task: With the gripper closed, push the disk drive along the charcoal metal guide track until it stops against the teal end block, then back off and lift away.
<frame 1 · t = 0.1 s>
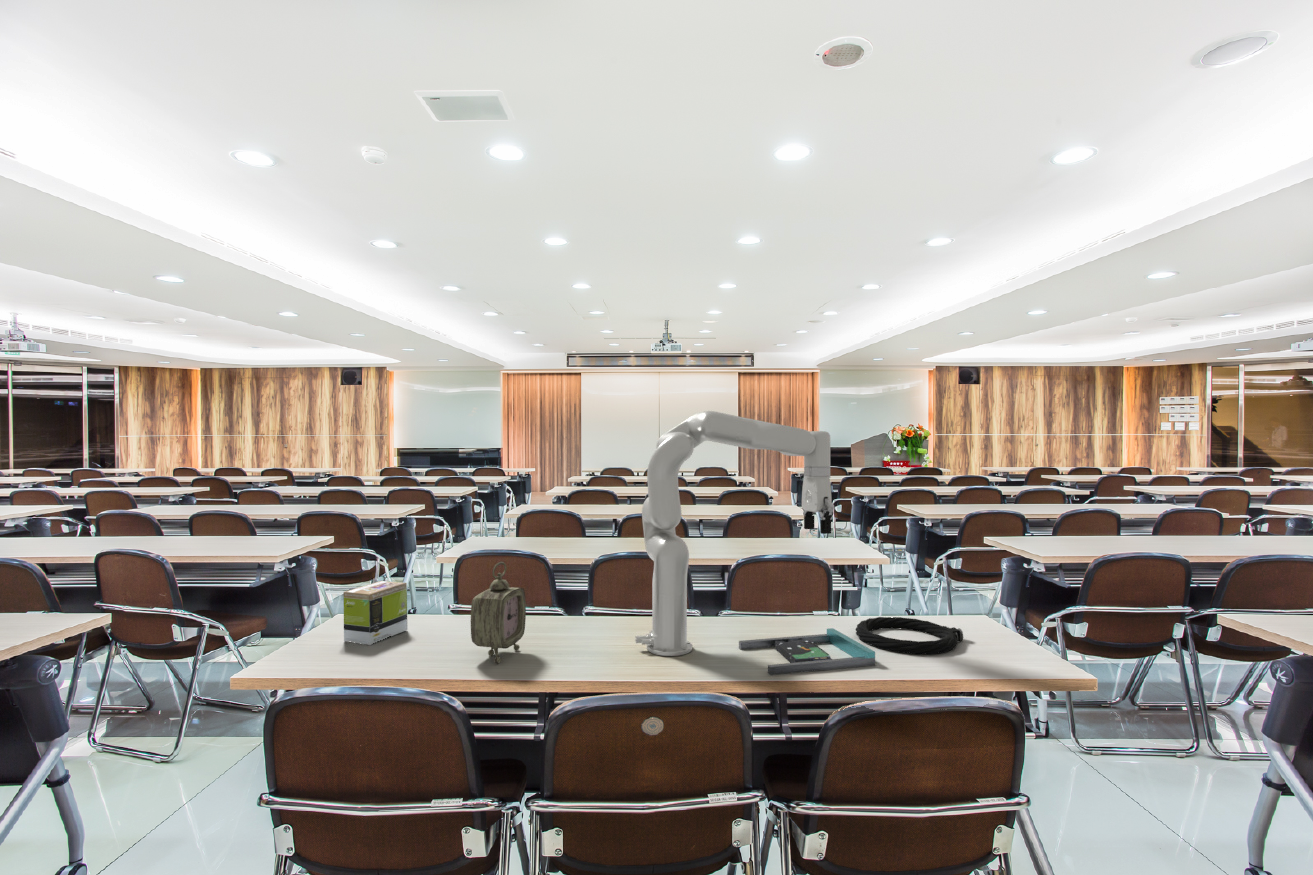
hand: (817, 531, 181), 31 cm above the table, tool pointing down, fingers open, 9 cm apart
cable lock: (909, 641, 179), on the table
tea box: (376, 637, 181), on the table
disk drive: (802, 659, 165), on the table
guide track: (804, 656, 165), on the table
tabletop clock: (497, 657, 164), on the table
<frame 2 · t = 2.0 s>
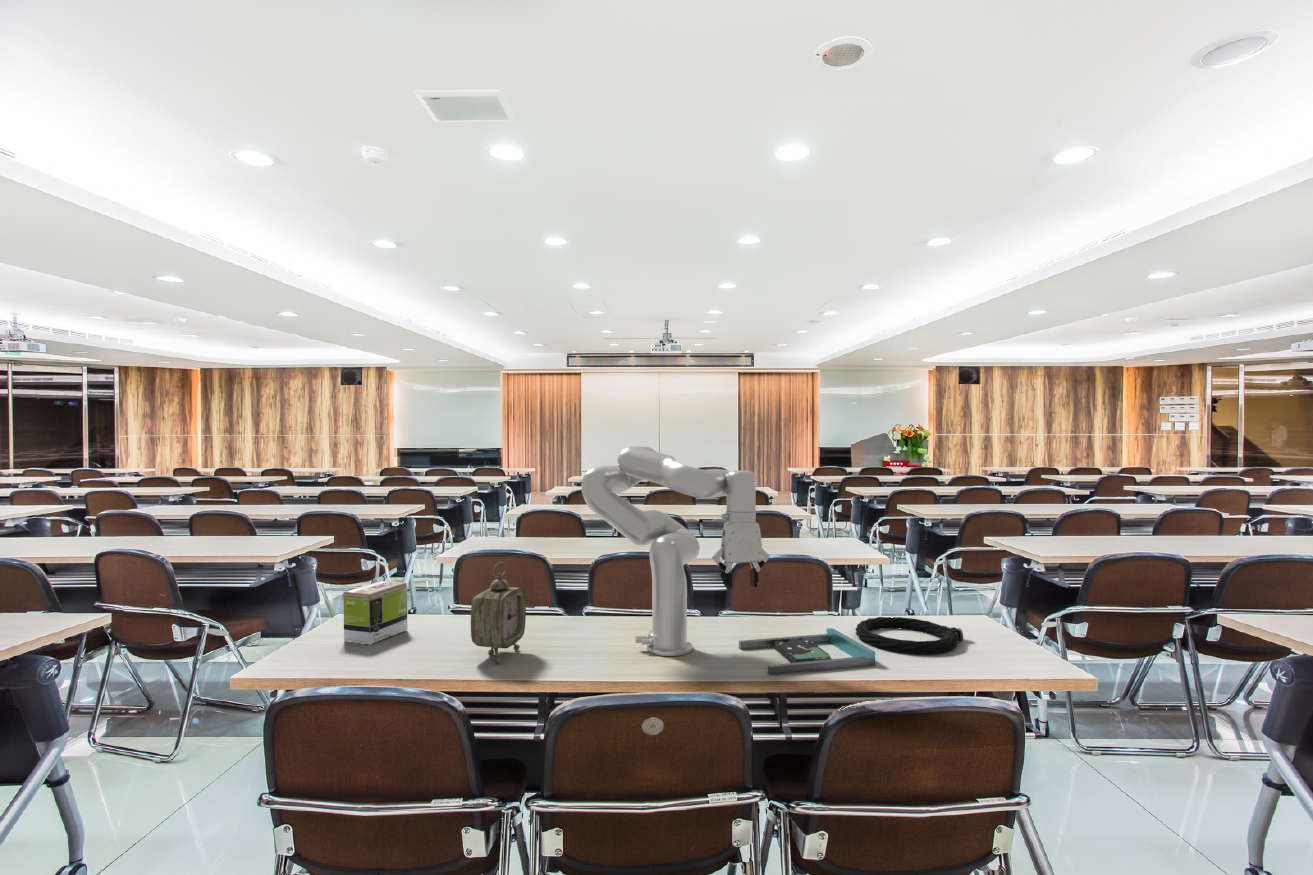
hand: (740, 586, 161), 20 cm above the table, tool pointing down, fingers open, 6 cm apart
nothing on the table moved.
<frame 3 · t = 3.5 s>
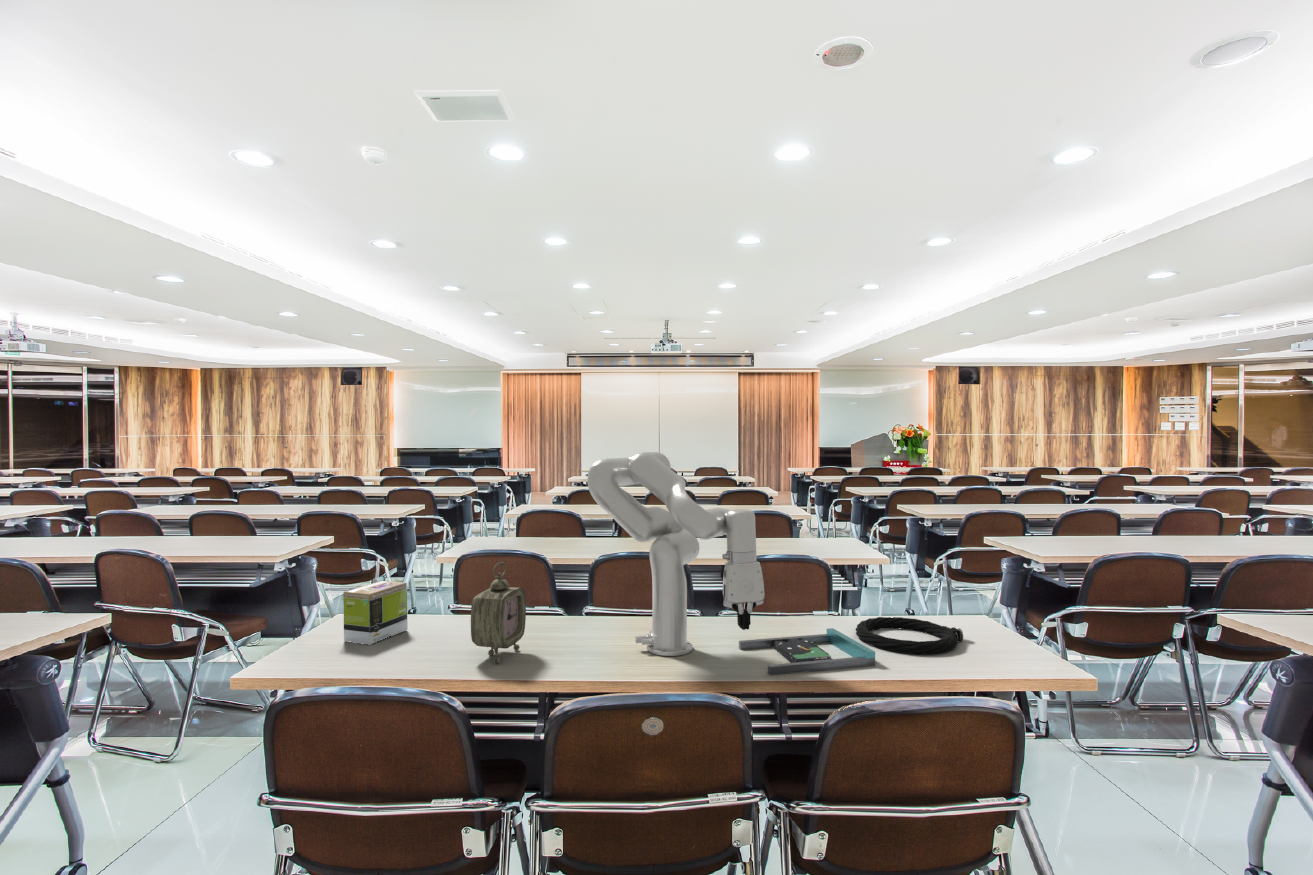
hand: (744, 628, 160), 9 cm above the table, tool pointing down, fingers closed
nothing on the table moved.
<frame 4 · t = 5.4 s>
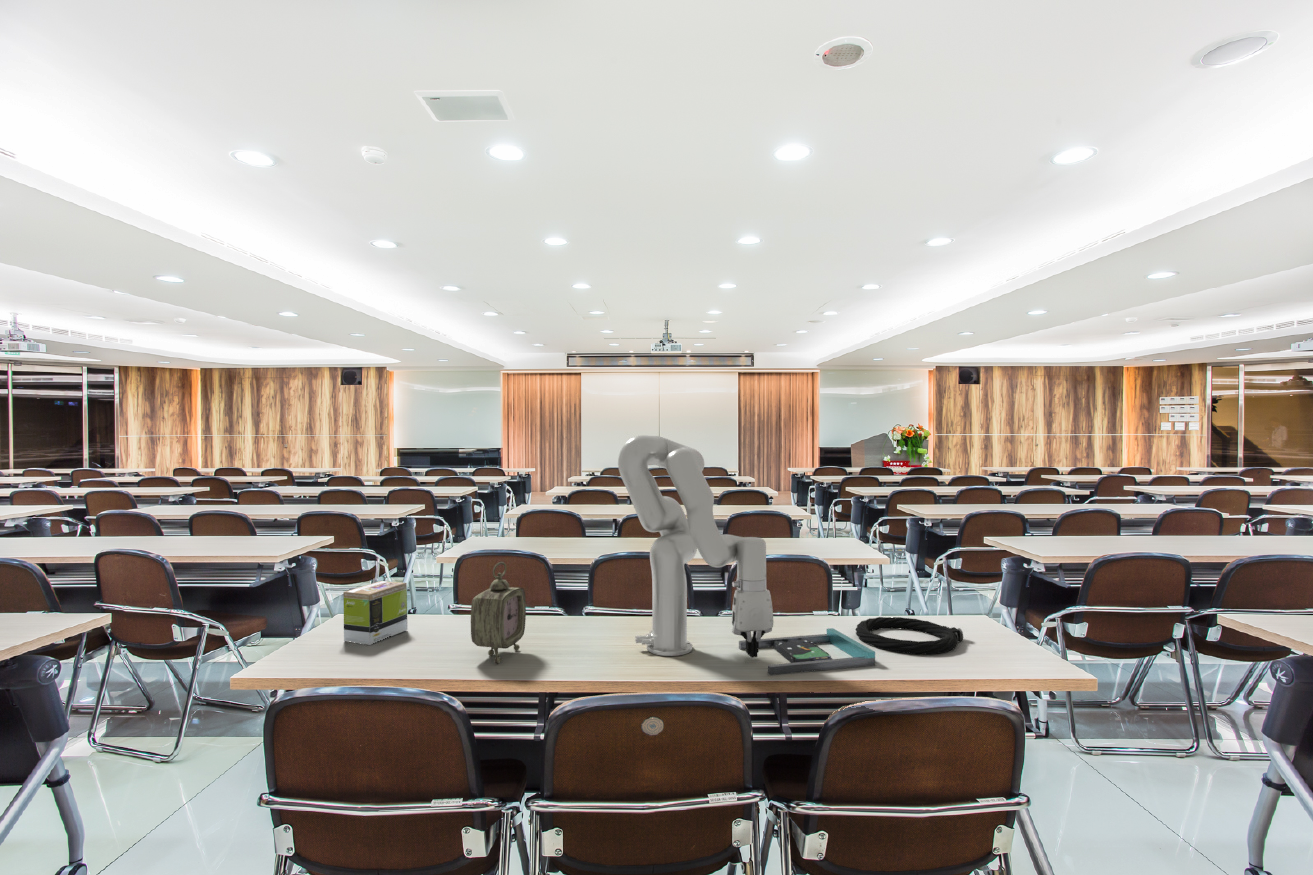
hand: (752, 655, 161), 1 cm above the table, tool pointing down, fingers closed
nothing on the table moved.
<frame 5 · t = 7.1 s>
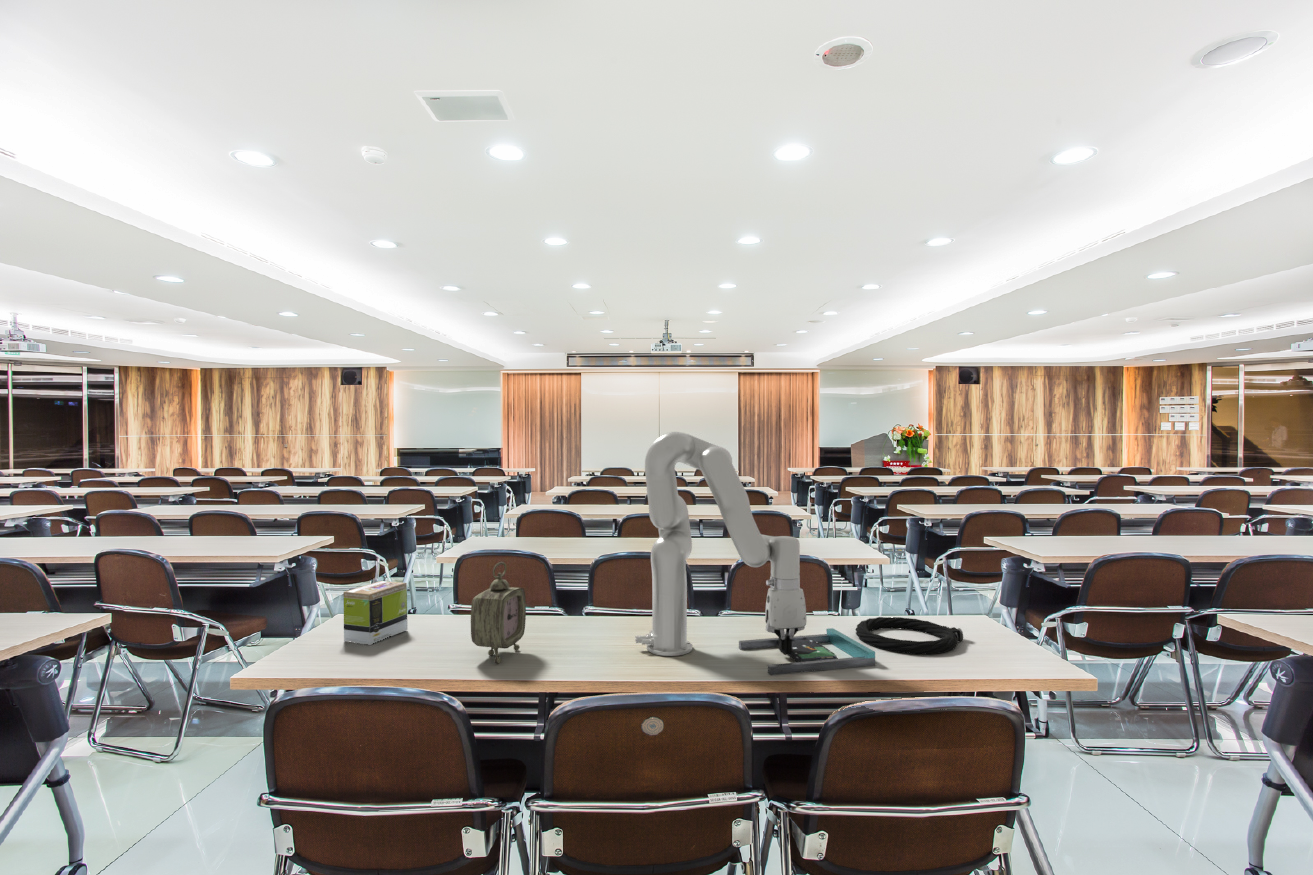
hand: (785, 652, 163), 1 cm above the table, tool pointing down, fingers closed
disk drive: (807, 658, 165), on the table, touching gripper
everything else where it was.
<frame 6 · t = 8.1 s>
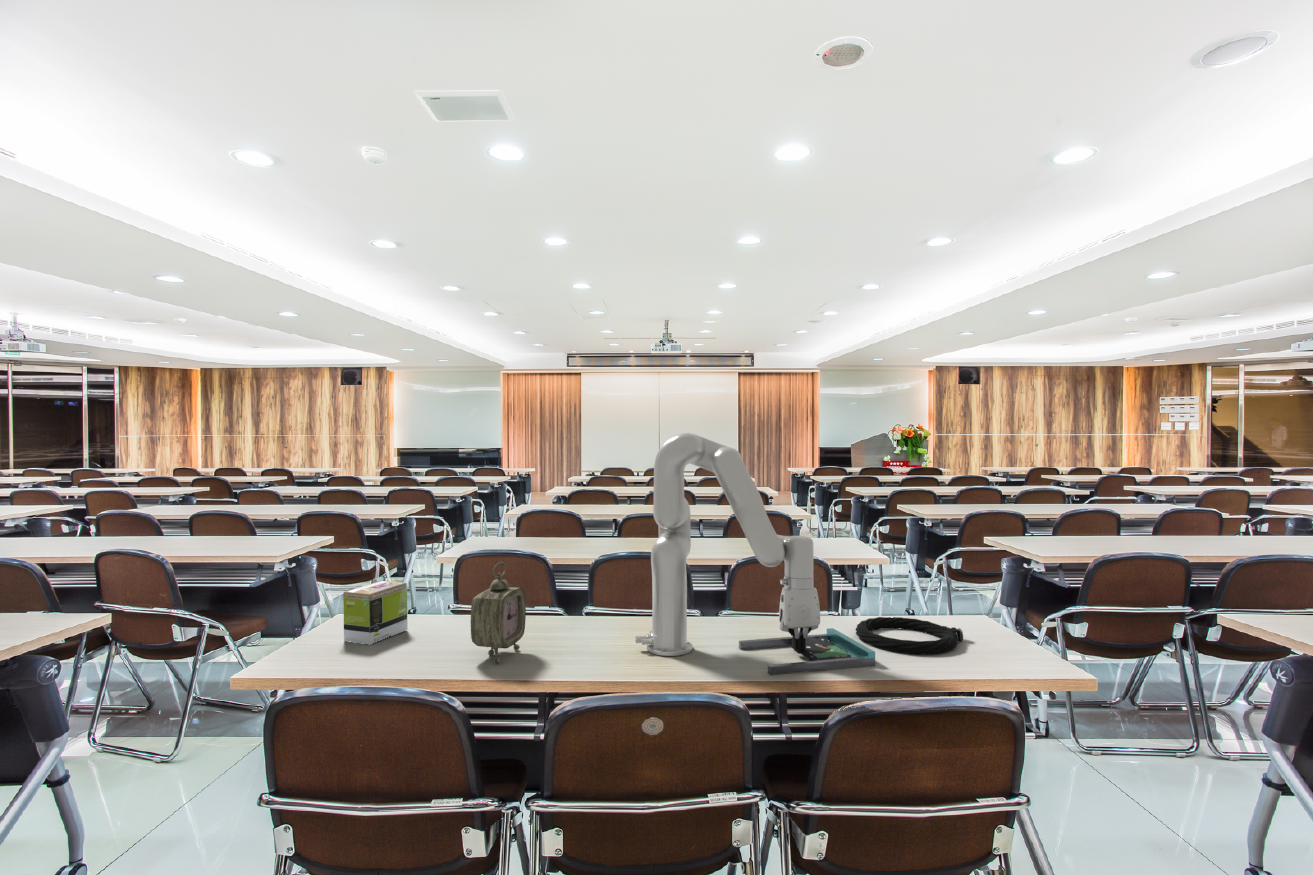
hand: (799, 651, 164), 1 cm above the table, tool pointing down, fingers closed
disk drive: (821, 657, 166), on the table, touching gripper
everything else where it was.
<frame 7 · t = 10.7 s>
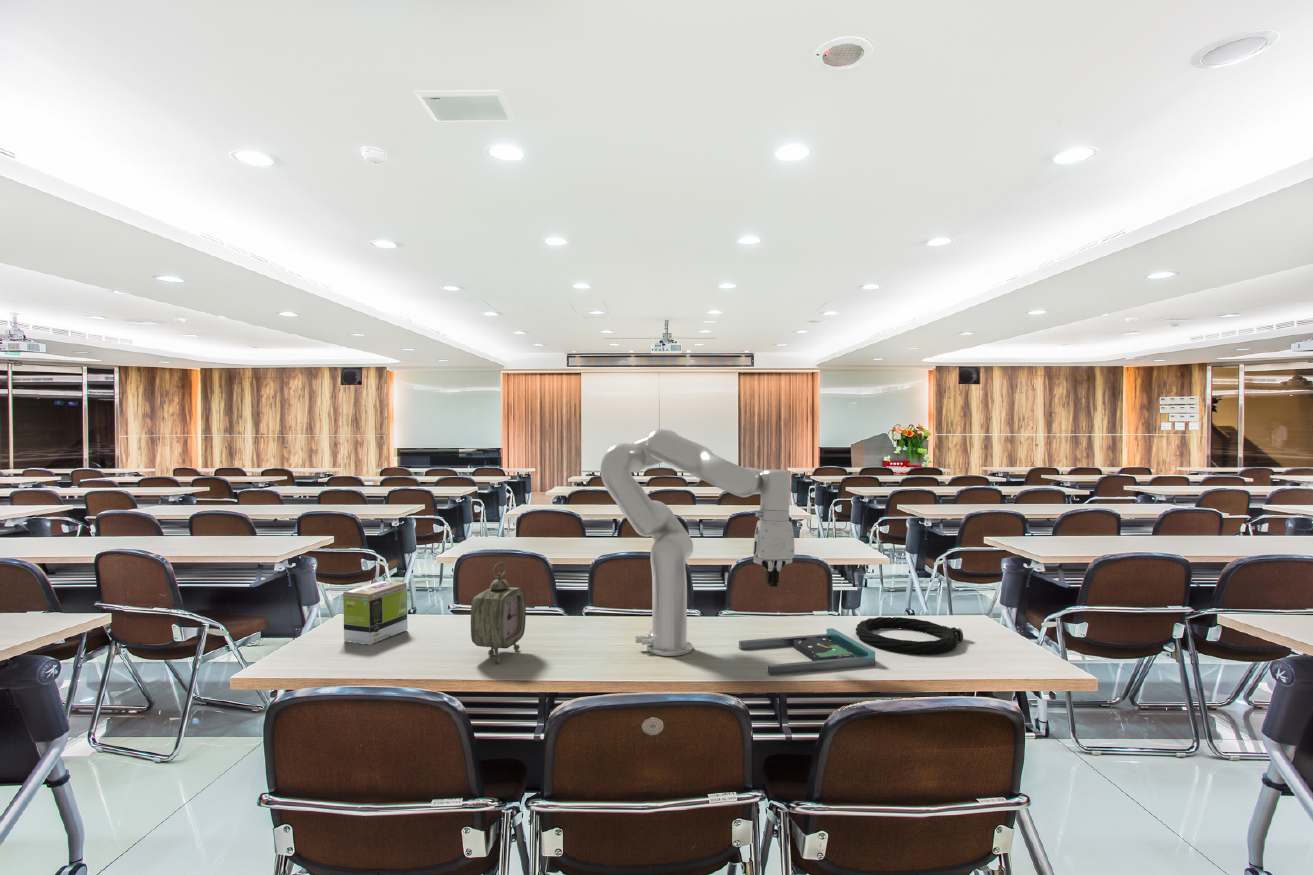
hand: (772, 585, 163), 19 cm above the table, tool pointing down, fingers closed
disk drive: (822, 657, 166), on the table
everything else where it was.
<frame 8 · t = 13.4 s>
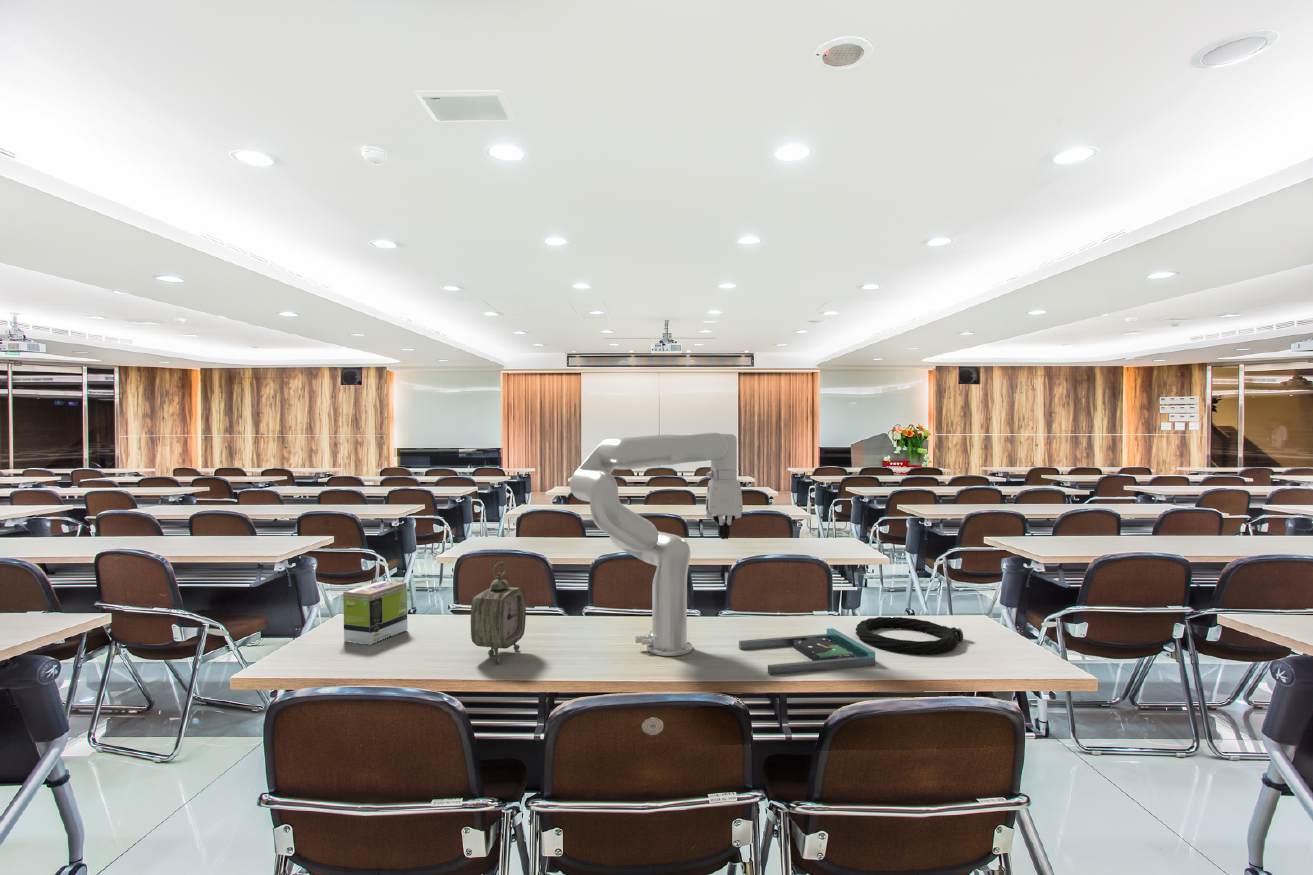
hand: (723, 538, 181), 29 cm above the table, tool pointing down, fingers closed
nothing on the table moved.
at the end: disk drive inside the target area (0.4 cm from its centre), on the table; disk drive moved 6.2 cm from its start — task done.
